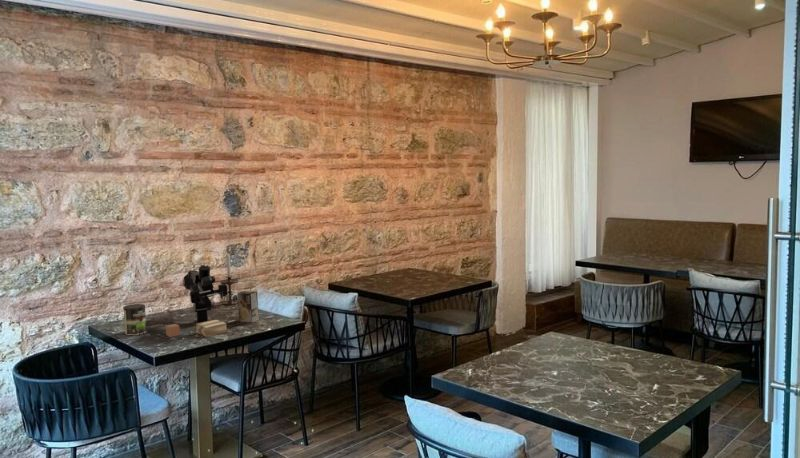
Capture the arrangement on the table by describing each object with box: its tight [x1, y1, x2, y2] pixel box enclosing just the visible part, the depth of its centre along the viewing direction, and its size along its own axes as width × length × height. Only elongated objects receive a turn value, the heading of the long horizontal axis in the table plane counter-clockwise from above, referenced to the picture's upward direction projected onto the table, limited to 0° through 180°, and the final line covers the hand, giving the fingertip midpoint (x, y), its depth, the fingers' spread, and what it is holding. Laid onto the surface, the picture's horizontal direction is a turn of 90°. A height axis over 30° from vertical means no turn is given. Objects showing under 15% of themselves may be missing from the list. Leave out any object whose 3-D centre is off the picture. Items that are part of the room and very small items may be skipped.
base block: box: [195, 319, 228, 338], centre depth 297 cm, size 11×11×5 cm
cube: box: [165, 323, 181, 338], centre depth 293 cm, size 5×5×5 cm
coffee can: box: [123, 303, 148, 336], centre depth 297 cm, size 10×10×14 cm
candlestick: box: [219, 248, 239, 306], centre depth 358 cm, size 11×11×35 cm
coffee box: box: [237, 290, 260, 323], centre depth 318 cm, size 9×6×16 cm
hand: (213, 300), depth 295 cm, fingers open, 9 cm apart
